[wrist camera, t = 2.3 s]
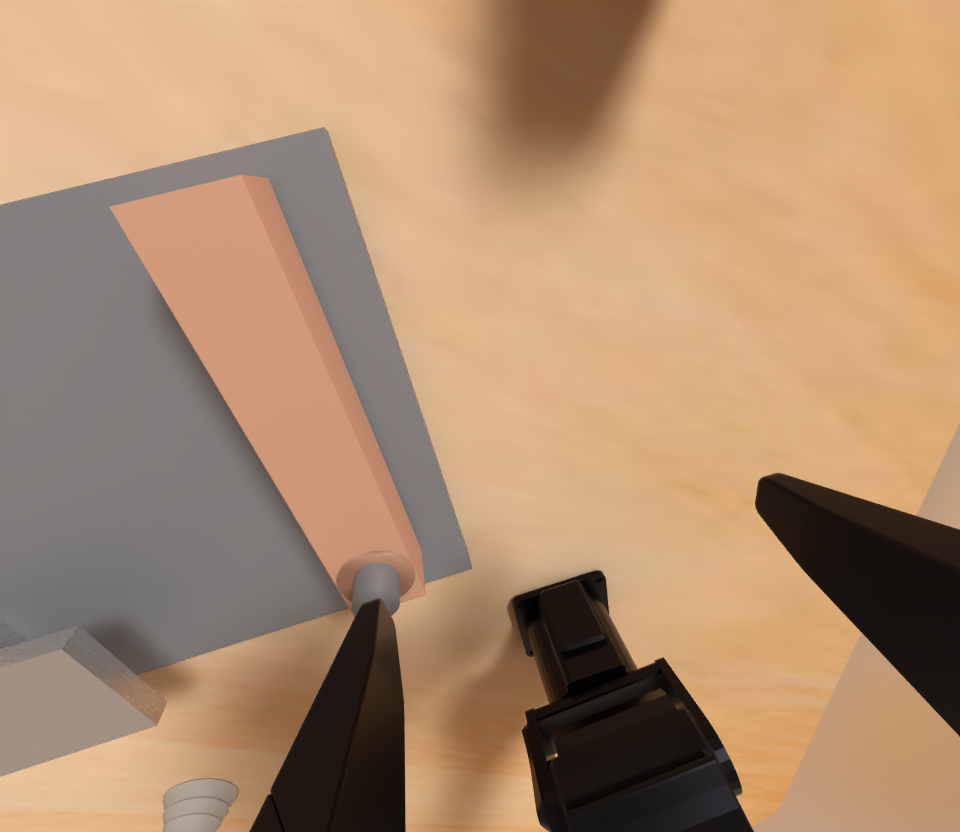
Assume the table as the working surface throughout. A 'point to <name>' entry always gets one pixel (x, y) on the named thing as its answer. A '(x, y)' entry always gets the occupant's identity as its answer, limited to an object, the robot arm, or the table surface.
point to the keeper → (65, 697)
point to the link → (280, 374)
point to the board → (176, 425)
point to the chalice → (197, 805)
